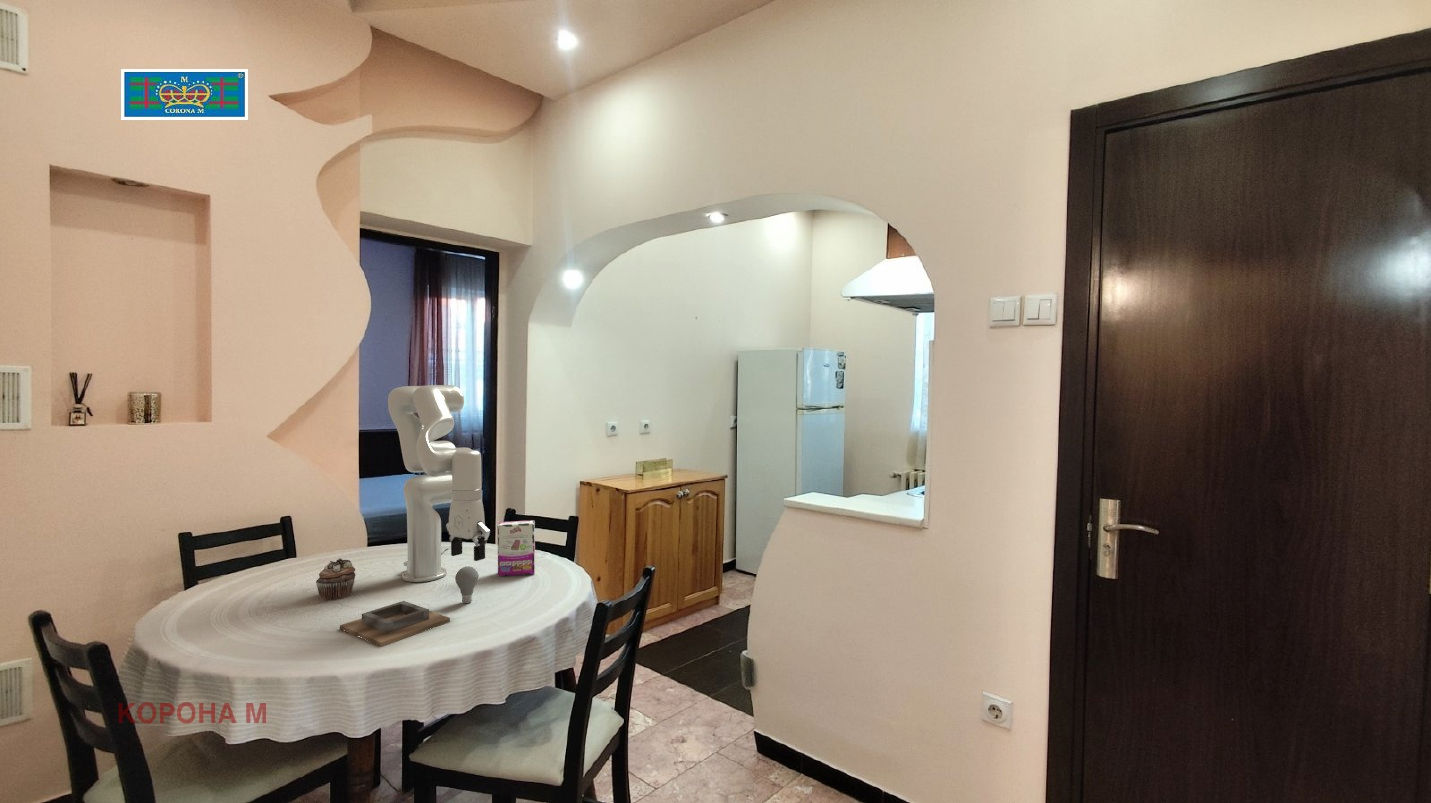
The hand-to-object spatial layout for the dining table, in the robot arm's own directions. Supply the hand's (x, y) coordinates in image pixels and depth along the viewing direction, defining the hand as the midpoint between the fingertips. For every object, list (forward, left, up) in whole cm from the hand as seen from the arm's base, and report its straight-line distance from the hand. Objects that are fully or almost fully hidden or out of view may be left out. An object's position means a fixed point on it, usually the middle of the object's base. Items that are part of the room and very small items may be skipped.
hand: (468, 557), depth 175 cm
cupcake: (-36, -17, -13) cm, 42 cm away
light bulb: (-1, 0, -13) cm, 13 cm away
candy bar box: (-10, +25, -13) cm, 30 cm away
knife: (-46, +19, -13) cm, 52 cm away
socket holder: (-2, -20, -13) cm, 24 cm away
